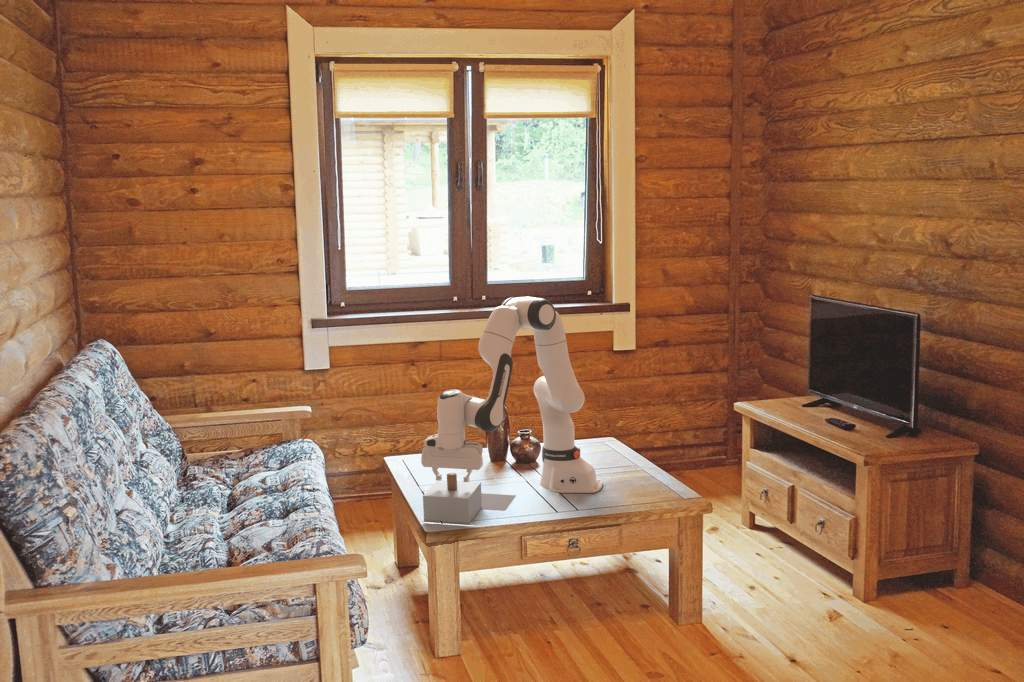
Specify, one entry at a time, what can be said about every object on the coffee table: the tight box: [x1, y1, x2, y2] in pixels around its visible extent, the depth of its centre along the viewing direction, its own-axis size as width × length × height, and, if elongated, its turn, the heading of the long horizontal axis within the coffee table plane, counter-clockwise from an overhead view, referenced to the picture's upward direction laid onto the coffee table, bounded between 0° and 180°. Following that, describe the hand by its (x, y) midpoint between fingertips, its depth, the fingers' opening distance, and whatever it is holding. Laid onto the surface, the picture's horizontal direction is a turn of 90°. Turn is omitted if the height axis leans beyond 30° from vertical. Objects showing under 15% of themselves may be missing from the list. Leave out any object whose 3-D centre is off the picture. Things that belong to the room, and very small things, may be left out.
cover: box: [422, 472, 482, 525], centre depth 337 cm, size 15×15×14 cm
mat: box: [480, 492, 517, 512], centre depth 350 cm, size 18×16×1 cm
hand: (452, 480), depth 336 cm, fingers open, 8 cm apart
